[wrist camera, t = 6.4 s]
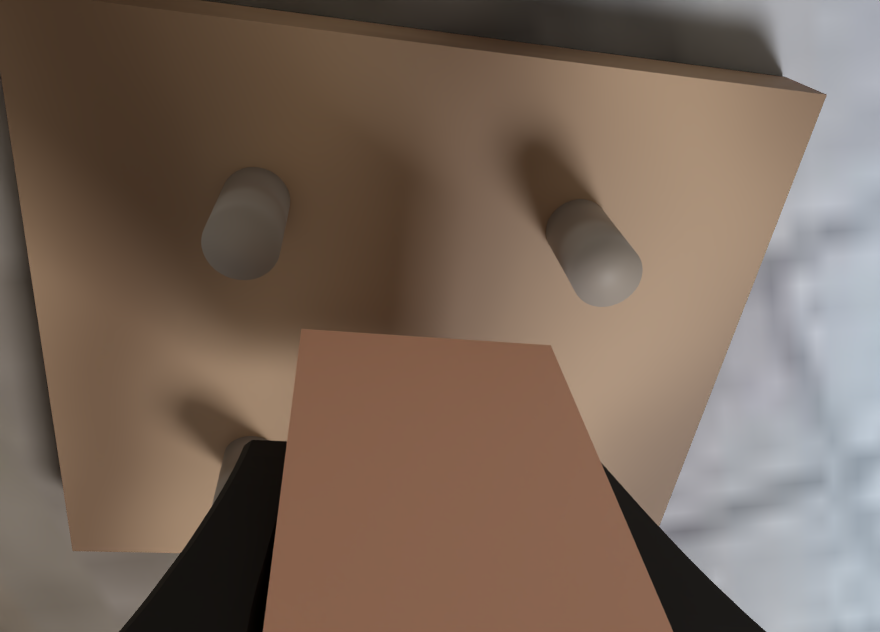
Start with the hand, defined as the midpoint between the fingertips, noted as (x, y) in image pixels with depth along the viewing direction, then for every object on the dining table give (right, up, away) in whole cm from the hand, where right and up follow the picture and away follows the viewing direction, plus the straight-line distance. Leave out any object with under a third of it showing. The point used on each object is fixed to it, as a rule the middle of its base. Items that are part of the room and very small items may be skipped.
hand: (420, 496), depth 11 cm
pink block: (0, +1, +1) cm, 1 cm away
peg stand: (-1, +3, +5) cm, 6 cm away
